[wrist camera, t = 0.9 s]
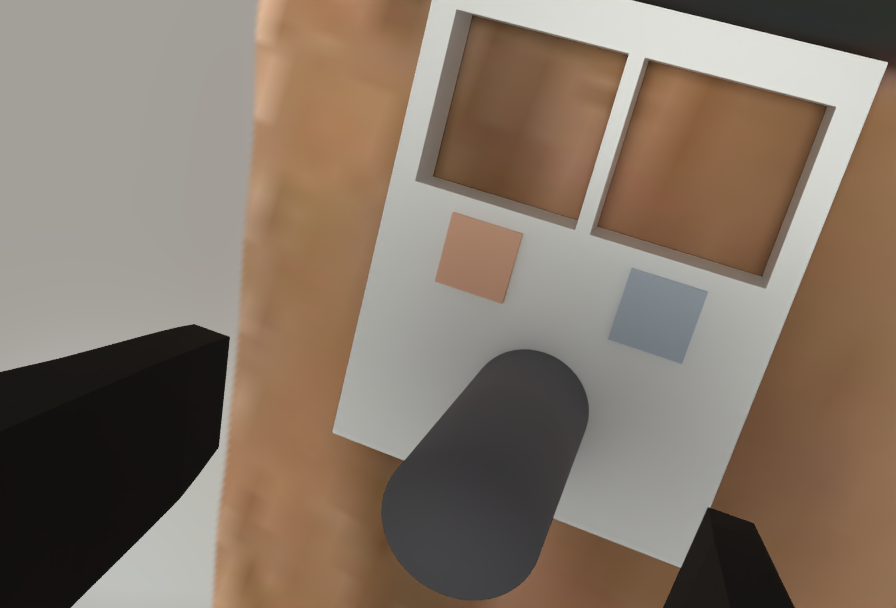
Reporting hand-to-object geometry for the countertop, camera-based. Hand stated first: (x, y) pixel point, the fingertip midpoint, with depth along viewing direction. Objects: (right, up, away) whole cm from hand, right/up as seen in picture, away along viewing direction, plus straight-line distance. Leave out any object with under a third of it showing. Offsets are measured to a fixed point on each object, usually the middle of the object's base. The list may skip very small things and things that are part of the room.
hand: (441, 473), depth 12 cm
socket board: (+4, +4, +12) cm, 13 cm away
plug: (+2, 0, +11) cm, 12 cm away
